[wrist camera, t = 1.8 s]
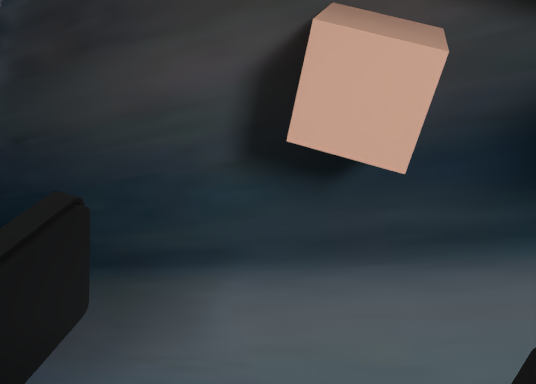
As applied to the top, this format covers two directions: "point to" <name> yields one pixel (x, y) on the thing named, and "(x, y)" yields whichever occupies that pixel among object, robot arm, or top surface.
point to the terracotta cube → (366, 85)
